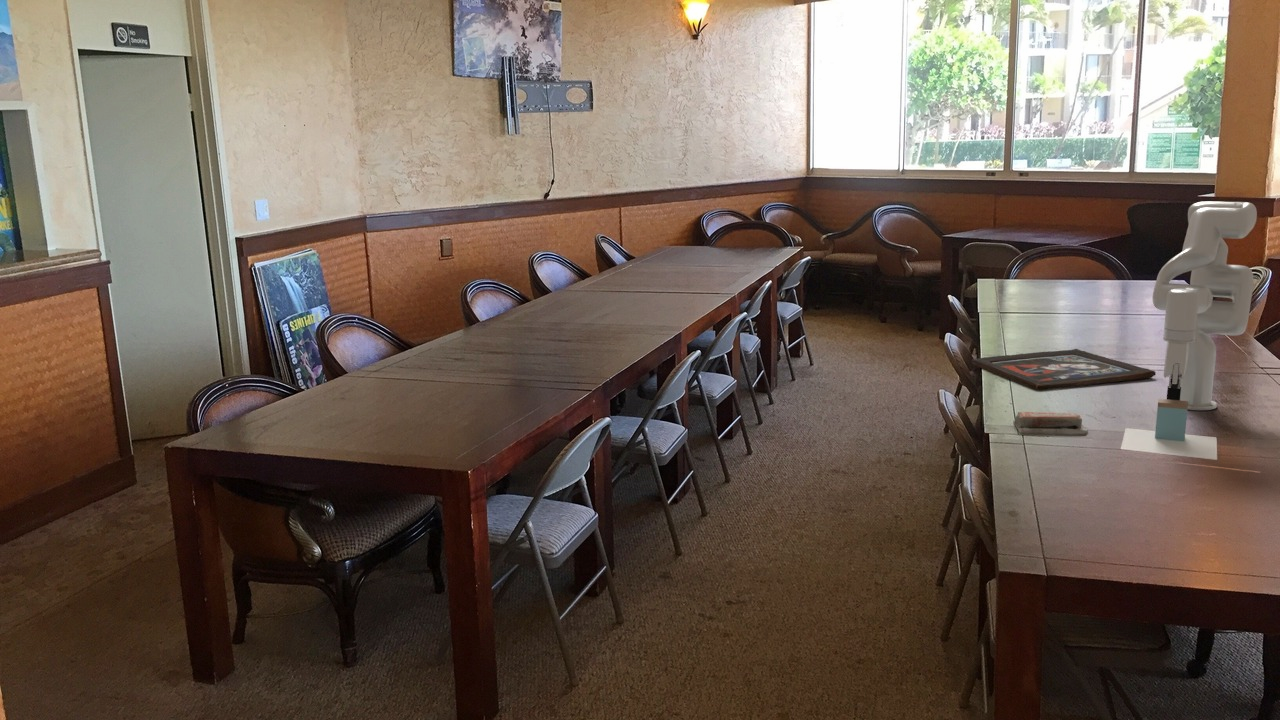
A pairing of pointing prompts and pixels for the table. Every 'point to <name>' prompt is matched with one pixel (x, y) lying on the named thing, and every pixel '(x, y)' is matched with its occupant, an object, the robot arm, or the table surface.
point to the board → (1170, 444)
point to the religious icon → (1061, 369)
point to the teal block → (1171, 419)
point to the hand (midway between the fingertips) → (1173, 401)
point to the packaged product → (1049, 423)
